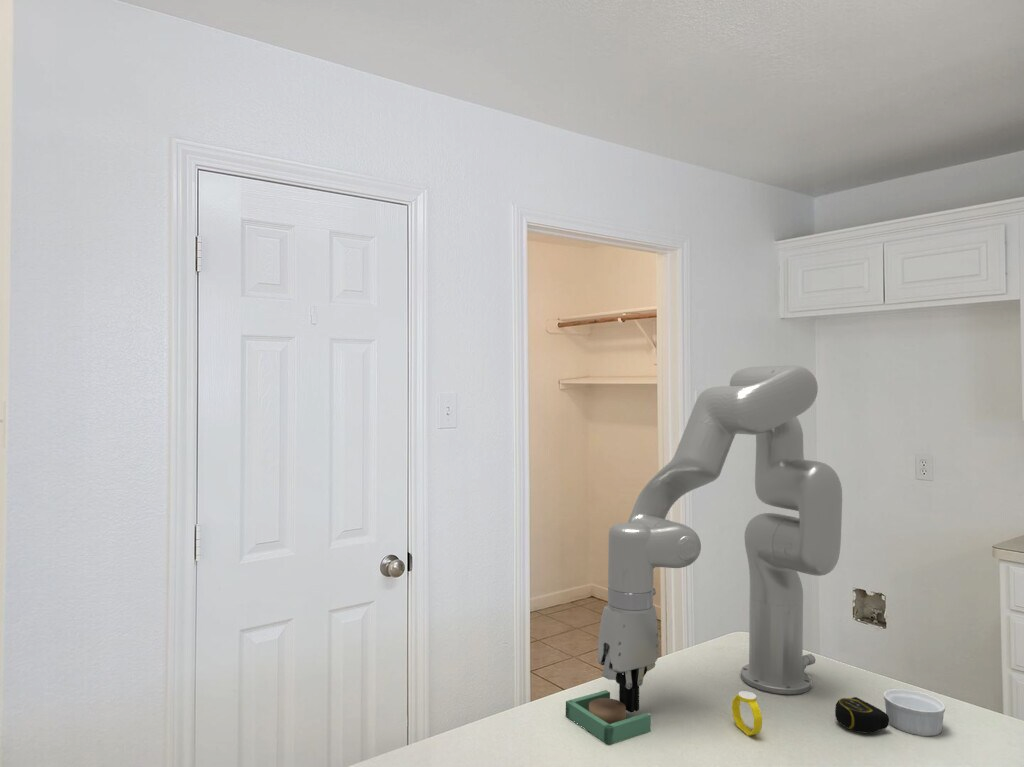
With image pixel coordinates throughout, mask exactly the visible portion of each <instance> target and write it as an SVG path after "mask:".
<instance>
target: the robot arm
mask: <svg viewBox="0 0 1024 767" xmlns="http://www.w3.org/2000/svg"><path fill="white" fill-rule="evenodd" d="M818 389H819V386H818V382H817V379H816V377H815V375H814V374H813V372H812V371H811V370H809V369H808V368H806V367H803V366H800V365H773V366H771V365H770V366H769V365H767V366H765V365H764V366H752V367H746V368H745V367H744V368H741V369H739V370H737V371H735V372H734V374H732V376H731V377H730V380H729V385H725V386H723V385H720V386H712V387H708V388H706V389H704V390H703V391H701V393H699V395H698V397H697V399H696V401H695V402H694V405H693V409H692V411H691V413H690V416H689V418H688V421H687V423H686V426H685V429H684V431H683V434H682V435H681V438H680V441H679V443H678V445H677V448H676V451H675V453H674V455H673V457H672V459H671V460H670V461H669V462H668V463H667V464H666V465H665V466H663V467H662V468H661V469H660V470H659V471H658V472H657V473H656V474H655V475H654V476H653V477H652V478H651V479H650V480H649V481H648V483H646V485H645V486H644V487H643V488H642V490H641V492H639V495H638V496H637V499H636V501H635V503H634V506H633V508H632V511H631V513H630V515H629V518H628V520H627V522H621V523H616V524H613V525H612V526H611V527H610V529H609V532H608V560H607V561H608V565H607V566H608V568H607V569H608V572H607V578H608V580H607V605H605V606H604V607H603V610H602V613H601V618H600V624H599V632H598V641H597V643H598V644H597V662H598V664H599V665H602V666H603V668H602V669H603V670H602V677H603V678H604V679H606V680H609V681H610V680H611V681H615V683H616V684H618V685H619V686H618V689H619V690H618V693H619V697H618V701H620V702H622V703H623V704H624V705H625V706H626V712H628V713H630V714H631V713H634V712H639V710H640V687H641V686H642V685H643V682H644V677H645V675H646V674H647V673H648V672H649V671H651V670H653V669H655V667H656V662H657V661H658V659H659V649H660V646H659V645H660V643H659V642H660V640H659V639H660V638H659V626H658V618H657V611H656V607H655V605H654V596H655V595H656V594H657V593H656V592H657V591H656V588H655V587H654V569H655V568H665V569H666V568H667V569H669V568H670V569H681V568H683V569H684V568H685V567H688V566H690V565H692V564H693V563H695V562H696V561H697V559H698V558H699V556H700V555H701V550H702V545H701V540H700V537H699V535H698V533H697V532H696V531H695V530H694V529H693V528H691V527H690V526H688V525H686V524H683V523H680V522H676V521H671V520H669V519H666V518H667V515H668V513H669V511H670V509H671V508H672V507H673V506H674V505H675V503H676V502H677V501H678V500H679V499H680V498H681V497H683V496H684V495H686V494H687V493H690V492H691V491H693V490H695V489H696V490H697V489H698V488H700V487H703V486H706V485H708V484H710V483H712V482H714V481H716V480H718V479H719V476H720V475H721V473H722V470H723V467H724V465H725V463H726V459H727V456H728V454H729V451H730V449H731V446H732V443H733V442H734V439H735V436H736V435H737V434H739V435H748V436H749V435H751V436H752V435H754V436H755V470H754V472H755V473H754V488H755V494H756V497H757V498H758V499H759V500H760V501H761V502H762V504H763V503H764V504H765V505H768V506H772V507H776V508H781V509H785V510H791V511H795V512H798V514H799V515H798V517H795V516H791V515H785V514H780V513H774V512H771V513H770V512H769V513H766V512H764V513H760V514H758V515H755V516H753V517H752V518H751V519H750V520H749V522H748V523H747V525H746V527H745V531H744V548H745V553H746V556H747V563H748V570H749V572H748V573H749V618H748V620H749V628H748V629H749V633H748V635H749V637H748V638H749V639H748V641H749V642H748V644H749V645H748V648H749V649H748V651H749V653H748V663H747V664H745V665H743V666H742V667H741V668H740V678H741V679H742V681H743V682H744V683H746V684H747V685H749V686H751V687H753V688H755V689H758V690H761V691H763V692H764V691H765V692H767V693H772V694H773V693H774V694H778V695H780V694H781V695H798V694H799V695H800V694H803V693H806V692H808V691H809V690H811V689H812V679H811V677H810V676H809V674H807V673H805V669H806V668H807V667H809V666H811V665H814V664H815V663H816V657H815V656H814V655H813V653H807V654H803V650H804V649H803V648H804V647H803V646H804V643H803V639H804V636H803V635H804V633H803V632H804V630H803V629H804V621H803V620H804V591H803V583H802V580H801V578H800V575H799V573H803V574H806V575H808V576H809V575H810V576H815V577H817V576H818V577H821V576H826V575H829V573H831V572H832V571H833V570H835V567H836V566H837V564H838V562H839V558H840V554H841V553H840V552H841V544H842V543H841V542H842V523H843V522H842V520H843V517H842V516H843V487H842V483H841V480H840V477H839V476H838V473H837V472H836V471H835V469H834V468H832V466H830V465H829V464H827V463H824V462H822V461H817V460H809V459H808V460H807V459H805V458H804V457H805V455H804V454H805V453H804V433H803V432H804V431H803V428H802V424H801V422H800V420H799V419H798V416H799V415H803V413H805V412H807V410H809V409H810V408H811V407H812V406H813V405H814V403H815V401H816V399H817V397H818V392H819V391H818Z"/></svg>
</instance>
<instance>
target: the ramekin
mask: <svg viewBox="0 0 1024 767" xmlns="http://www.w3.org/2000/svg"><path fill="white" fill-rule="evenodd" d="M883 699H884V704H885V705H884V706H885V713H886V714H887V715H888V717H889V724H890V725H891V726H893V727H894V728H895V729H898V730H900V731H901V732H905V733H906V734H907V733H908V734H911V735H914V736H915V735H916V736H921V737H933V736H934V737H935V736H937V735H940V734H941V733H942V730H943V724H944V713H945V711H946V705H945V704H944V702H942V700H940V699H938V698H937V697H934V696H933V695H931V694H928V693H924V692H922V691H916V690H912V689H907V688H906V689H905V688H892V689H891V688H890V689H887V690H885V691H884V692H883Z"/></svg>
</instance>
